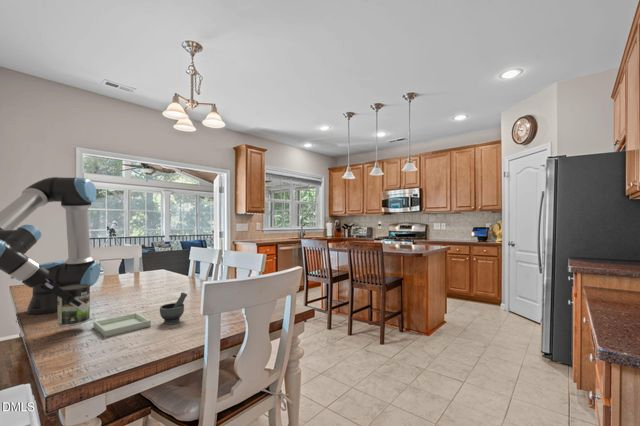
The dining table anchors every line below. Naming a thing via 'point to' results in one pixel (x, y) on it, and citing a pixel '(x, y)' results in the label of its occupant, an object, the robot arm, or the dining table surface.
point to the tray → (121, 324)
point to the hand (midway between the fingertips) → (83, 306)
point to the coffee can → (69, 313)
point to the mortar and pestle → (173, 310)
